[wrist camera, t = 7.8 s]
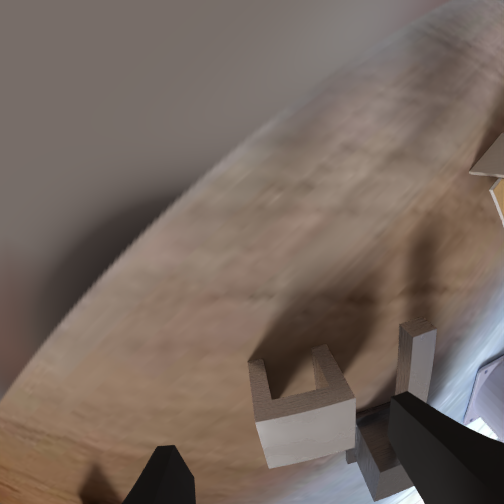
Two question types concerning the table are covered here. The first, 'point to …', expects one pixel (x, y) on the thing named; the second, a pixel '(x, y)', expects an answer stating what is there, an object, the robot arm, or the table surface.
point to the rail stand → (377, 419)
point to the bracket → (304, 414)
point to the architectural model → (494, 171)
